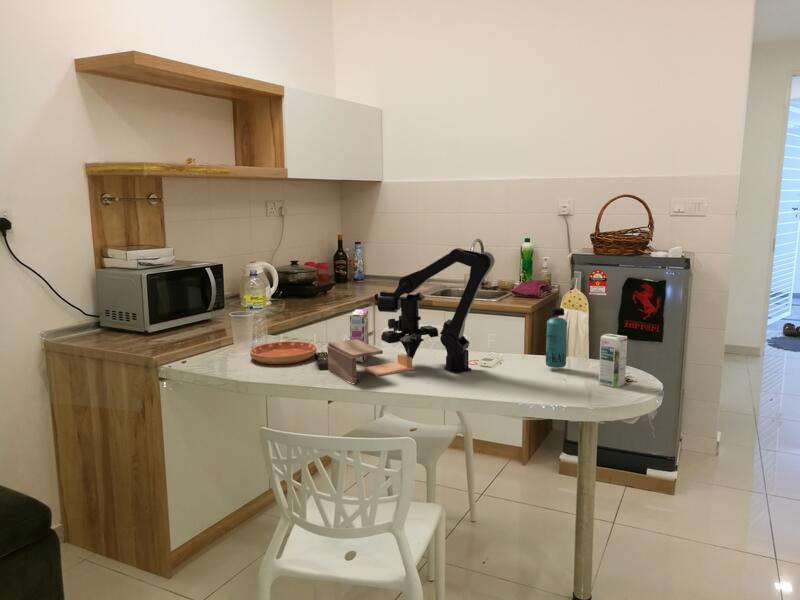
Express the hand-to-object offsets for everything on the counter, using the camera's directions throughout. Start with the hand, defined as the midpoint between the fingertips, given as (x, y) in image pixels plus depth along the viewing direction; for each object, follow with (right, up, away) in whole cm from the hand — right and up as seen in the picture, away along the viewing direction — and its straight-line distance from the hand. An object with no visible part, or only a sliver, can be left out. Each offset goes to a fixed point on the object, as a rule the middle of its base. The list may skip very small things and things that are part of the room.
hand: (410, 359), depth 206 cm
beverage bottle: (+46, -3, -7) cm, 47 cm away
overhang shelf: (-18, -4, -9) cm, 20 cm away
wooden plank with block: (-7, -3, -3) cm, 9 cm away
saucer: (-44, -1, +14) cm, 46 cm away
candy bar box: (-17, -1, +11) cm, 20 cm away
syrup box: (+59, -5, -22) cm, 63 cm away
